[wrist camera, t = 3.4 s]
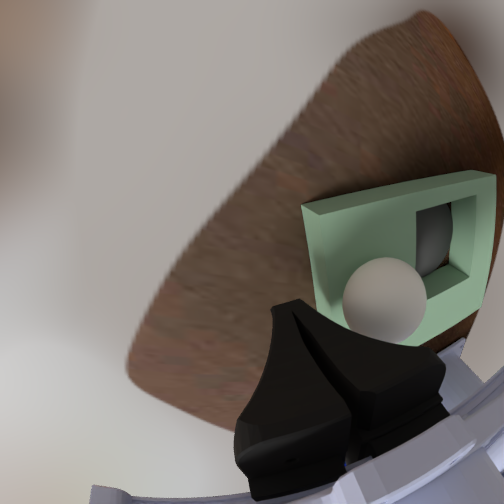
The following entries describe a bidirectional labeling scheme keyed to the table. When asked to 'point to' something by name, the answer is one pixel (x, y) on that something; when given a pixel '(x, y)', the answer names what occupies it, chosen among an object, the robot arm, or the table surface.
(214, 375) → the table surface
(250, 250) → the table surface
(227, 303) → the table surface
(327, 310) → the green
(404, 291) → the ball
